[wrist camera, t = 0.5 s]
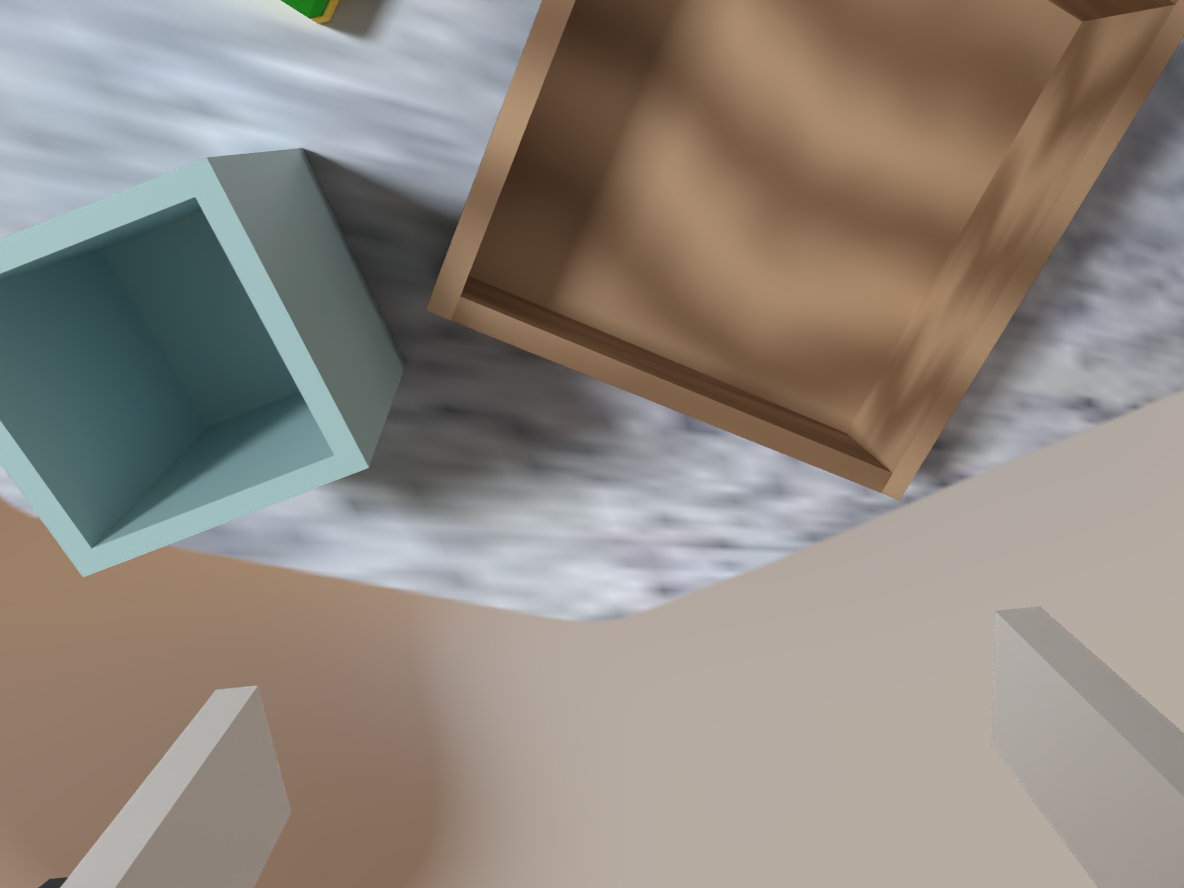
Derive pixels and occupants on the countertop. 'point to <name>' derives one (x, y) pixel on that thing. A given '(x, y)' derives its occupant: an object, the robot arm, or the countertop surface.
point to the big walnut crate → (794, 202)
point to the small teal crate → (187, 356)
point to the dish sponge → (315, 8)
